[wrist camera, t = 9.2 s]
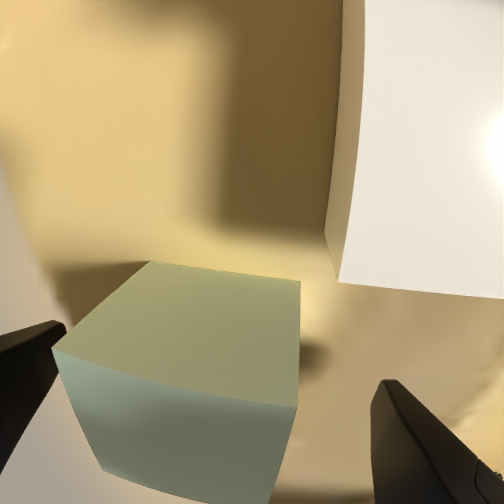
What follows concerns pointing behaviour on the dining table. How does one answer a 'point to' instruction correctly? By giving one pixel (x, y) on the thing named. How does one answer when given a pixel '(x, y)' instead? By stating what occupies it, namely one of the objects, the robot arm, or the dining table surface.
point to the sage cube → (188, 380)
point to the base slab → (420, 147)
